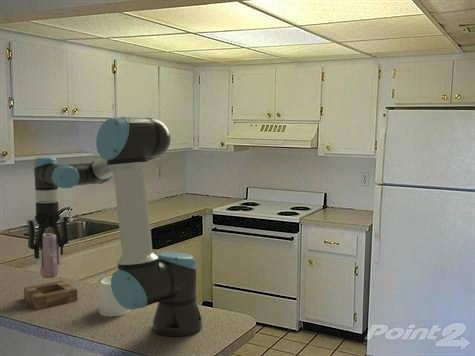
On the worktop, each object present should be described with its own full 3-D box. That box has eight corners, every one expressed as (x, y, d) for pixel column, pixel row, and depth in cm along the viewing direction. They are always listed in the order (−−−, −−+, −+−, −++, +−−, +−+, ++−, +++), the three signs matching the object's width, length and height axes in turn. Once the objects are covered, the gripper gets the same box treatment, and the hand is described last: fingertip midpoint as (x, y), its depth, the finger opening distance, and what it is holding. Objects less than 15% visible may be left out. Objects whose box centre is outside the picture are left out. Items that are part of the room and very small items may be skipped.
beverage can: (52, 272, 187) (51, 232, 186) (61, 275, 183) (60, 234, 182) (37, 276, 183) (35, 234, 181) (46, 279, 179) (44, 237, 177)
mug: (96, 304, 179) (96, 274, 178) (126, 301, 182) (125, 271, 181) (100, 318, 166) (99, 286, 165) (132, 314, 170) (131, 283, 168)
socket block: (77, 300, 183) (77, 289, 182) (37, 309, 174) (37, 297, 174) (62, 290, 194) (62, 280, 193) (24, 298, 185) (23, 287, 184)
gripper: (69, 197, 189) (70, 259, 191) (15, 202, 177) (18, 268, 179) (77, 200, 183) (79, 263, 186) (22, 205, 171) (25, 273, 174)
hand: (49, 265), depth 183 cm, fingers closed on beverage can, 6 cm apart
